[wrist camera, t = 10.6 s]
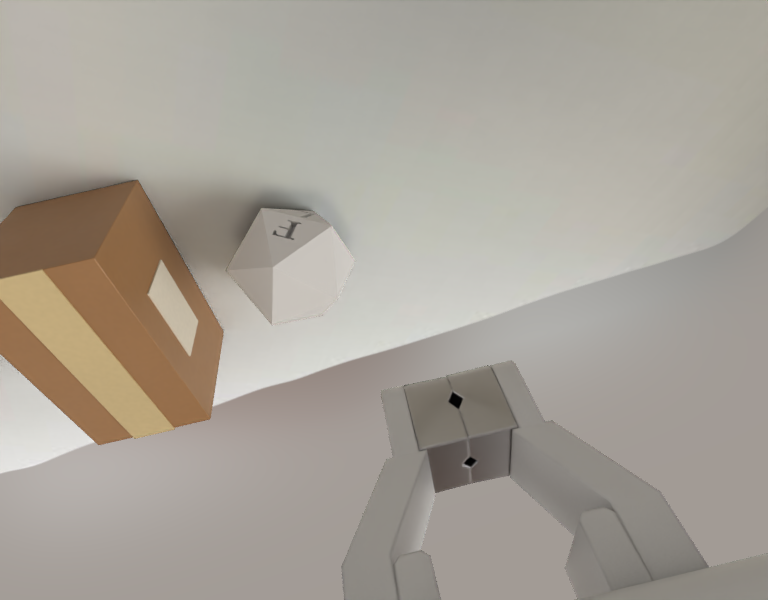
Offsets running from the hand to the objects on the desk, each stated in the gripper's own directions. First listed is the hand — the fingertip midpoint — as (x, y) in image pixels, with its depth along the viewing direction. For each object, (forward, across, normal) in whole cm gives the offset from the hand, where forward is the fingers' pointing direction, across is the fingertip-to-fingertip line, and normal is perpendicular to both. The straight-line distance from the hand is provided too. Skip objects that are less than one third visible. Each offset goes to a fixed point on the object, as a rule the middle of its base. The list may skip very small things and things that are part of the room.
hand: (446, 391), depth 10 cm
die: (+27, +7, +12) cm, 30 cm away
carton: (+27, +20, +12) cm, 36 cm away
